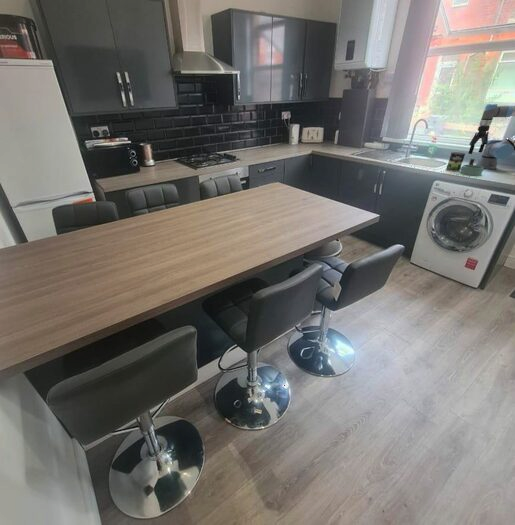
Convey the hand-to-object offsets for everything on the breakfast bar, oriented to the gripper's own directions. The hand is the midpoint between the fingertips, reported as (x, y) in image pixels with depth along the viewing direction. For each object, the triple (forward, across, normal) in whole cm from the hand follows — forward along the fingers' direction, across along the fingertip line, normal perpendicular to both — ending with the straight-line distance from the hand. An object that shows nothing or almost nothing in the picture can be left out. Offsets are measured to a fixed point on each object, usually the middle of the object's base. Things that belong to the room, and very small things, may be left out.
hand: (475, 153), depth 247 cm
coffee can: (+14, -15, +5) cm, 21 cm away
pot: (+14, -14, -10) cm, 22 cm away
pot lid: (+13, 0, 0) cm, 13 cm away
